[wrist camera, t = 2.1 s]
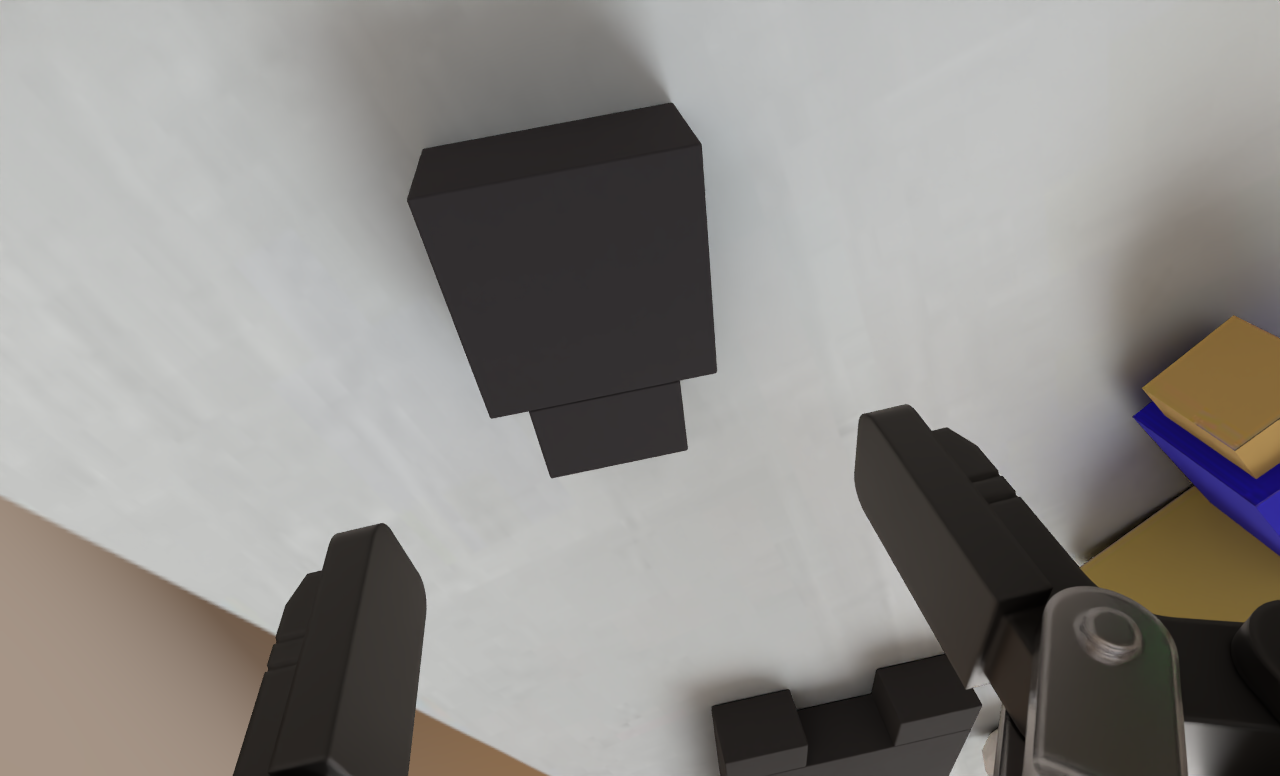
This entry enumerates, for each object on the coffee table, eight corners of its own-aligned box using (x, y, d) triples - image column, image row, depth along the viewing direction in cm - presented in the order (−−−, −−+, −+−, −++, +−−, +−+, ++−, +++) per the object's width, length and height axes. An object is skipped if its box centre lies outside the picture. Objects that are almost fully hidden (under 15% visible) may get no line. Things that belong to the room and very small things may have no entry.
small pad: (421, 148, 15) (405, 199, 13) (672, 101, 15) (702, 142, 13) (515, 417, 20) (516, 486, 18) (698, 379, 21) (722, 443, 18)
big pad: (710, 706, 36) (724, 764, 33) (953, 652, 36) (983, 705, 34) (724, 804, 46) (735, 854, 44) (912, 761, 46) (933, 808, 44)
